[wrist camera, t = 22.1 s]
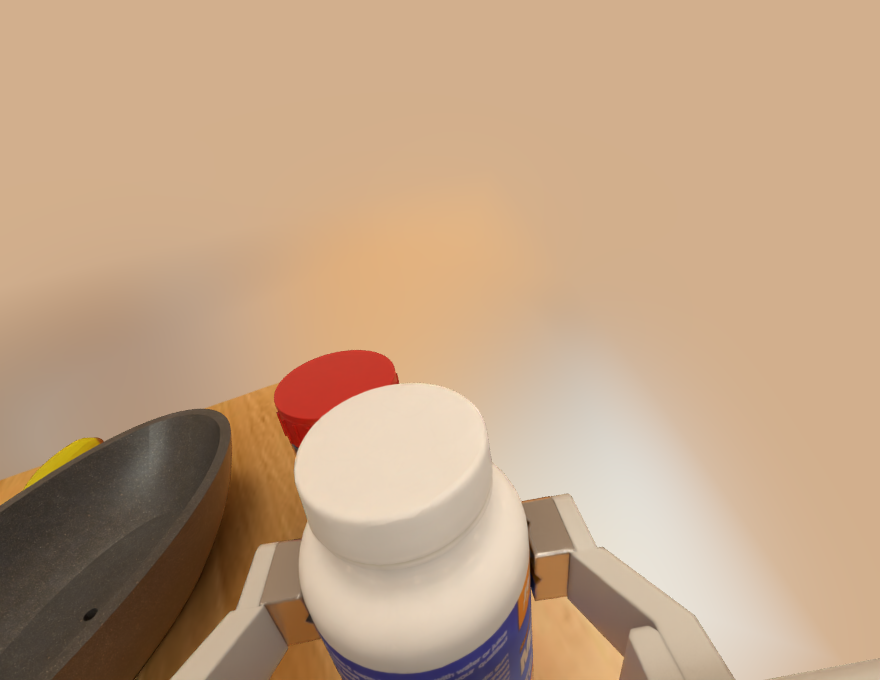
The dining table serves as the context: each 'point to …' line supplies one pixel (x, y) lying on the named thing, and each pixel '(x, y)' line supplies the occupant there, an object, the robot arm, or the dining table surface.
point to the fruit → (64, 457)
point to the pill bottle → (413, 541)
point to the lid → (327, 387)
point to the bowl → (110, 549)
